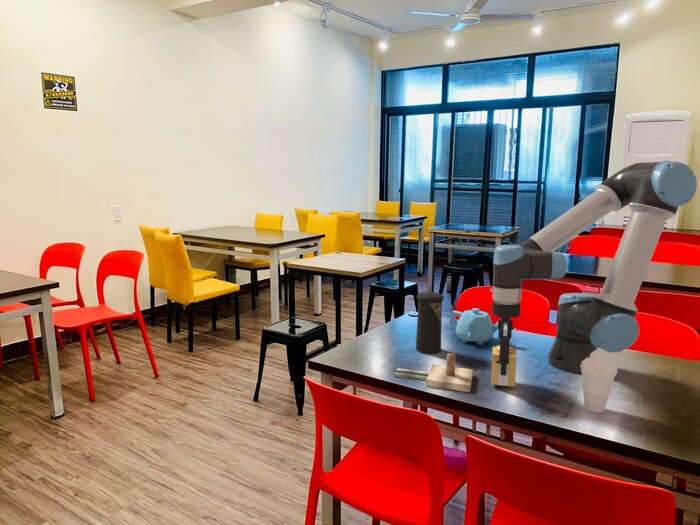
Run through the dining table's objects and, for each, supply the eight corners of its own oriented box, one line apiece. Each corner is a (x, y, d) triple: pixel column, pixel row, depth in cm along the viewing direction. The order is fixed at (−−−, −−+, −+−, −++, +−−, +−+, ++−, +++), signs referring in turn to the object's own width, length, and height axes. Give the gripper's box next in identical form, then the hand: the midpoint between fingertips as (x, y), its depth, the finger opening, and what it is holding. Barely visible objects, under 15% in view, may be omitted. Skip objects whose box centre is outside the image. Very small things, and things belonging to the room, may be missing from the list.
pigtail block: (472, 375, 144) (474, 350, 143) (469, 392, 133) (471, 364, 132) (399, 366, 151) (400, 341, 149) (391, 381, 139) (392, 355, 138)
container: (441, 355, 161) (443, 296, 157) (413, 353, 163) (415, 295, 159) (441, 346, 169) (444, 291, 166) (415, 344, 171) (417, 289, 168)
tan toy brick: (514, 377, 140) (516, 344, 138) (514, 386, 134) (516, 352, 132) (491, 375, 142) (492, 342, 140) (490, 384, 136) (492, 350, 134)
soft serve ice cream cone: (601, 401, 128) (607, 344, 125) (619, 417, 120) (626, 355, 117) (570, 402, 128) (575, 344, 125) (586, 417, 119) (592, 355, 117)
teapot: (442, 342, 173) (444, 311, 171) (454, 330, 188) (455, 300, 186) (500, 352, 165) (502, 318, 163) (507, 338, 180) (509, 307, 178)
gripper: (493, 292, 144) (490, 366, 148) (491, 309, 126) (488, 392, 130) (519, 294, 142) (516, 368, 146) (521, 311, 124) (517, 396, 128)
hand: (502, 379), depth 138 cm, fingers closed on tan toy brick, 6 cm apart
